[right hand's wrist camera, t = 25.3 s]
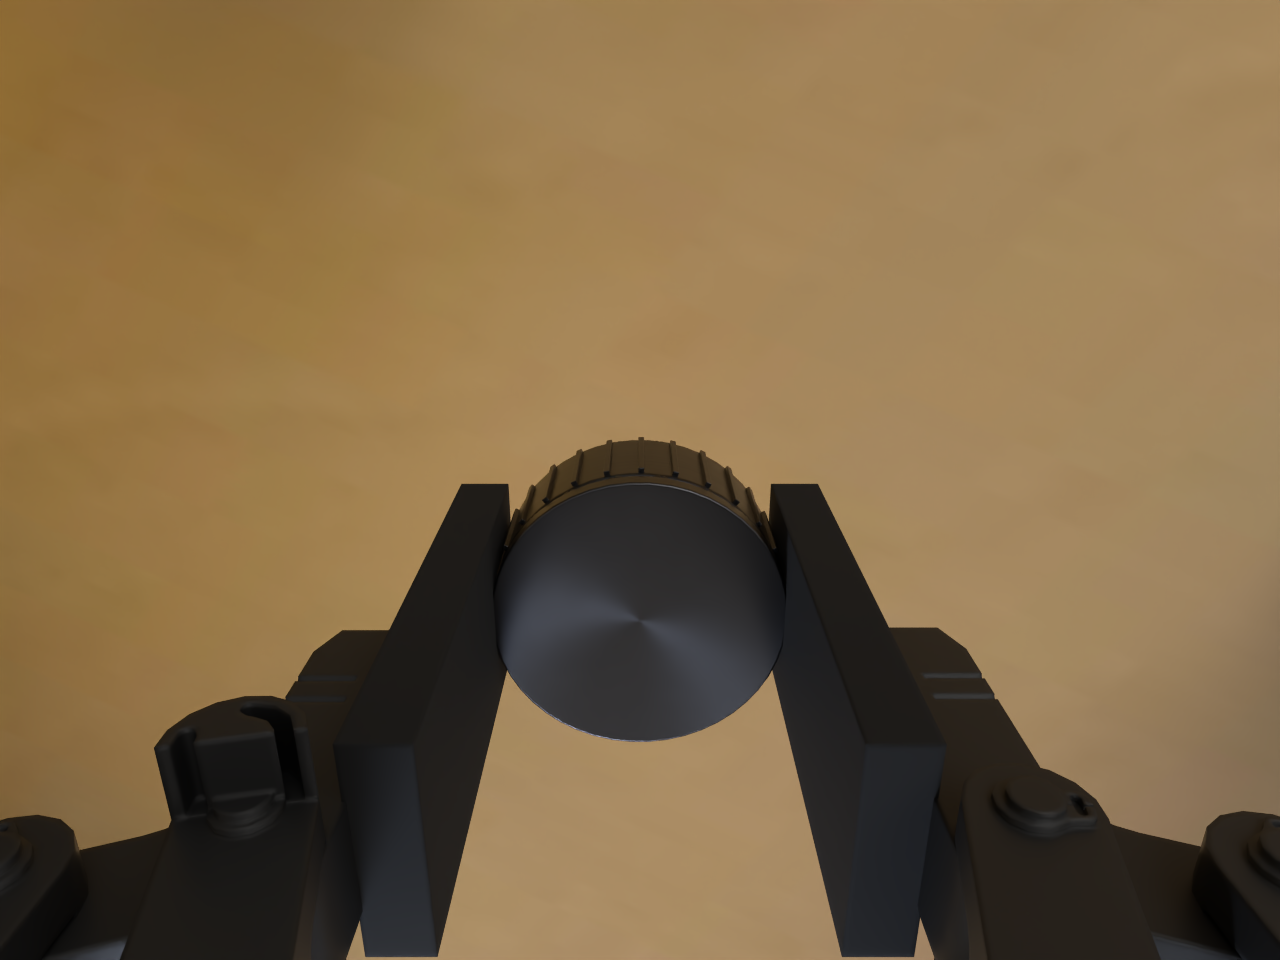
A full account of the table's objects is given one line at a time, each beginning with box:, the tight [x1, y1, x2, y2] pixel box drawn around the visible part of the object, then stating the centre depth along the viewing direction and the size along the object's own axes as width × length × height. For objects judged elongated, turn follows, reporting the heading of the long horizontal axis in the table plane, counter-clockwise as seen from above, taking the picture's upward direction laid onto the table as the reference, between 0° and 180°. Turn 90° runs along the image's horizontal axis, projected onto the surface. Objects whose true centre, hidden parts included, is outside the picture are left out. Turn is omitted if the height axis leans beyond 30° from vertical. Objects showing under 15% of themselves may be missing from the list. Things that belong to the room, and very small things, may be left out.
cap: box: [493, 437, 786, 742], centre depth 14 cm, size 4×4×2 cm
